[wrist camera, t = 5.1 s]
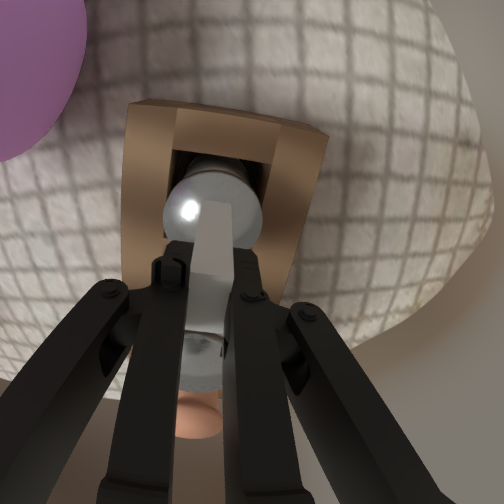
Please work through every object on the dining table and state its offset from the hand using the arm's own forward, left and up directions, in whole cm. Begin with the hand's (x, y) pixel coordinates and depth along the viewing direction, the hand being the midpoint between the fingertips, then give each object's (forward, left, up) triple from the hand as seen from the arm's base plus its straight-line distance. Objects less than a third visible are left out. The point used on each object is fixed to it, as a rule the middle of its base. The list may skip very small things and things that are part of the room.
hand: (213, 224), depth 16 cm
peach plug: (+16, 0, -4) cm, 16 cm away
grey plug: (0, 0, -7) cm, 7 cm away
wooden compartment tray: (+8, 0, -8) cm, 11 cm away
